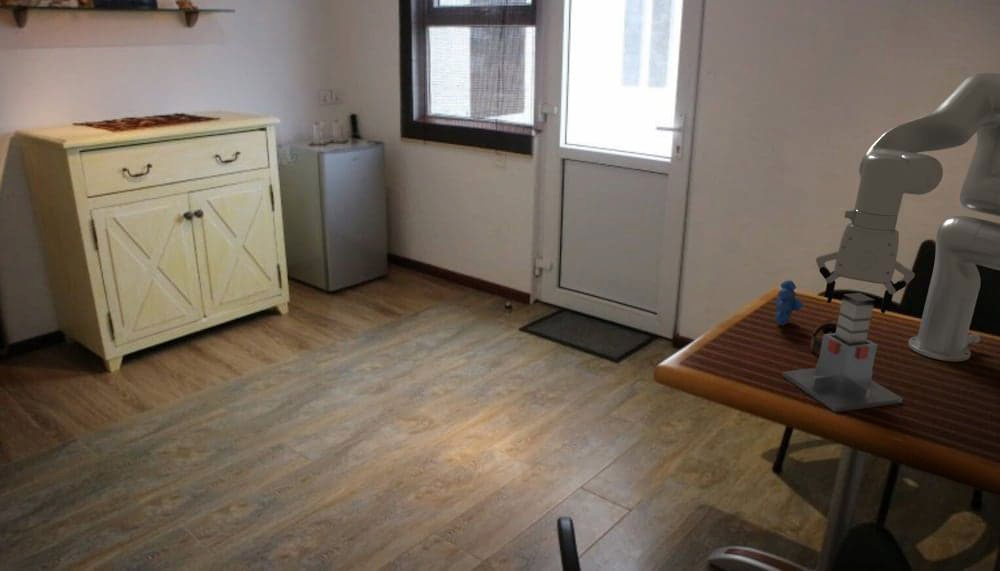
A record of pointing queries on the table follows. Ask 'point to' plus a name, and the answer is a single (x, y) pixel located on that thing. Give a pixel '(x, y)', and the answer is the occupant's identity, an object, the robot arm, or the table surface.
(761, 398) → the table surface
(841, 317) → the column
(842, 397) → the stand base
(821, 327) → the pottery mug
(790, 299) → the blue lumpy cluster
